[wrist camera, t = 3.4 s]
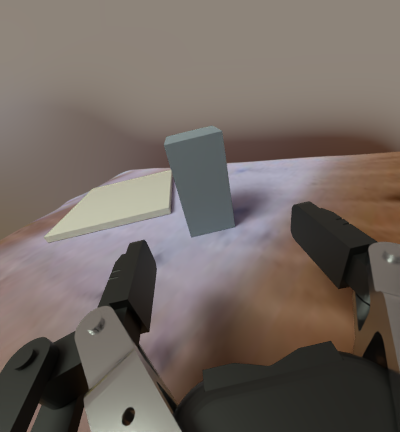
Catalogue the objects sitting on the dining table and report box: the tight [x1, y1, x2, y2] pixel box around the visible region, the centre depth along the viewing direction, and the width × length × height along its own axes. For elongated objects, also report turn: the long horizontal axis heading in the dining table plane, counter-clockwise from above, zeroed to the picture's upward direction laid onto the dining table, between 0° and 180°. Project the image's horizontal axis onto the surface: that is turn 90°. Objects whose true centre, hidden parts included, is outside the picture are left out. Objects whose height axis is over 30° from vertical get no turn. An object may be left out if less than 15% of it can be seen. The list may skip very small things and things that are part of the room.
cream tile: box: [44, 170, 173, 243], centre depth 34 cm, size 18×18×1 cm
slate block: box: [164, 126, 235, 237], centre depth 20 cm, size 5×5×10 cm
